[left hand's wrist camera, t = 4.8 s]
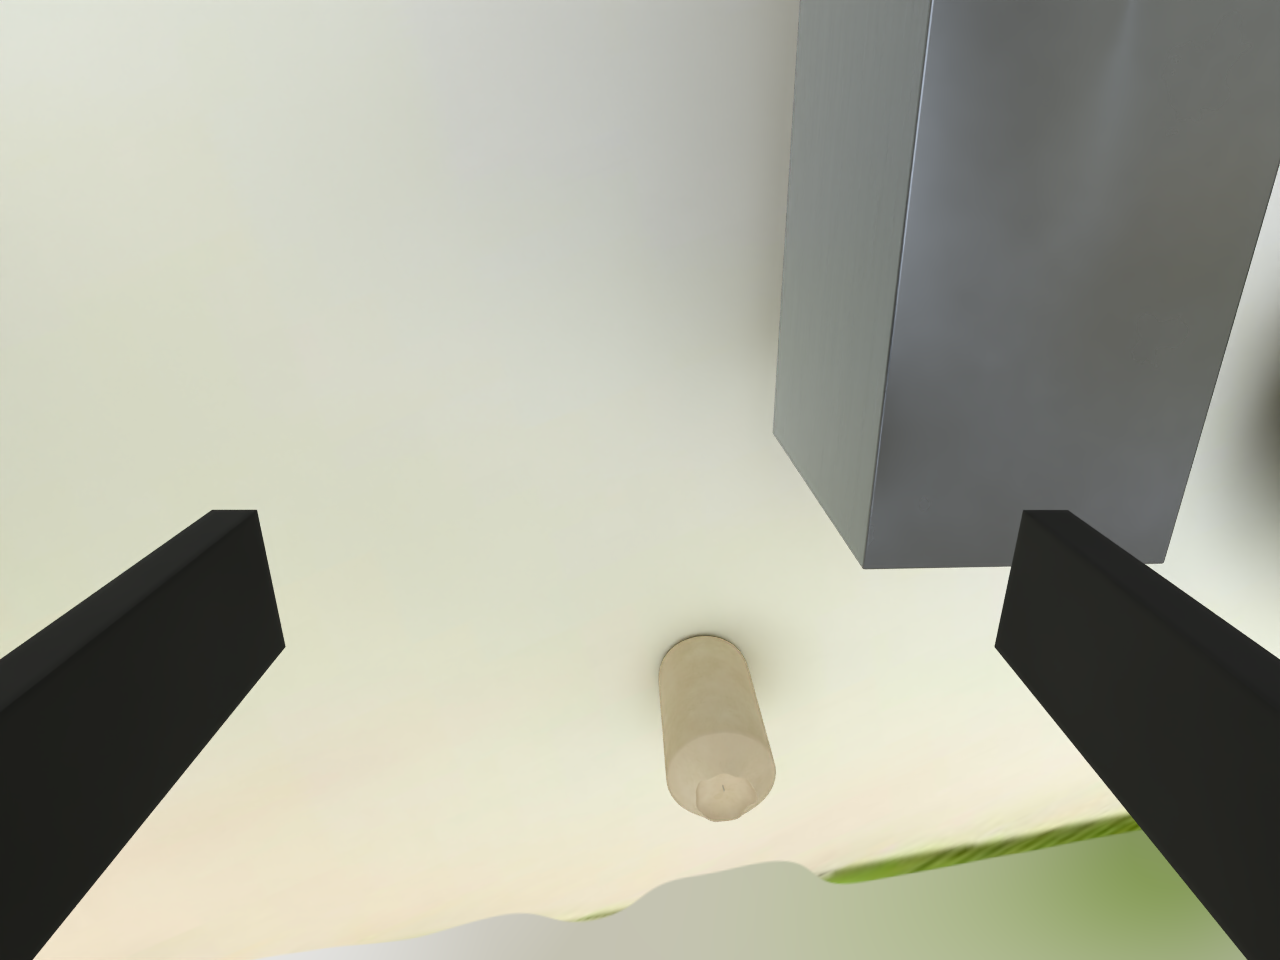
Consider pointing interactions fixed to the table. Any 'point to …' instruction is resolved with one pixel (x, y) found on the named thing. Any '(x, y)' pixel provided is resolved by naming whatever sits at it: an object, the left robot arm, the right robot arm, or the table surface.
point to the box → (1016, 261)
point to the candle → (713, 730)
